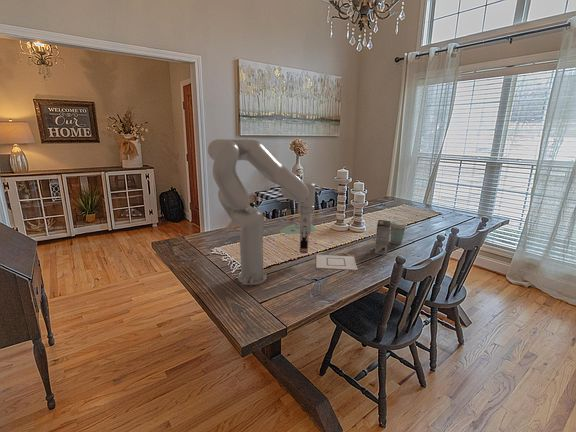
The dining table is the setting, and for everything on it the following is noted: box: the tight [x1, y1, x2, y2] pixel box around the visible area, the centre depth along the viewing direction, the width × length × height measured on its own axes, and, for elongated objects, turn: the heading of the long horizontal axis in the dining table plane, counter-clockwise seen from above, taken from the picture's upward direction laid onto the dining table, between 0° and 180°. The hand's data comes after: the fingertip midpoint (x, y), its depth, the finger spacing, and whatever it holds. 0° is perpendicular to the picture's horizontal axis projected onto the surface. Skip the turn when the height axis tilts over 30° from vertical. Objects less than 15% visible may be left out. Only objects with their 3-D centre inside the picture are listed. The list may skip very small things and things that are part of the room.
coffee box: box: [374, 219, 392, 256], centre depth 160 cm, size 9×6×16 cm
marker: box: [299, 233, 310, 254], centre depth 143 cm, size 4×4×12 cm
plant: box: [279, 219, 317, 235], centre depth 197 cm, size 25×21×9 cm
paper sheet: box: [315, 254, 359, 271], centre depth 149 cm, size 15×19×1 cm
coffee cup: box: [390, 220, 406, 246], centre depth 173 cm, size 9×8×12 cm
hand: (303, 246), depth 144 cm, fingers closed on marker, 4 cm apart
